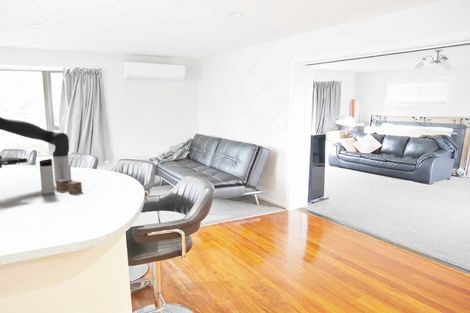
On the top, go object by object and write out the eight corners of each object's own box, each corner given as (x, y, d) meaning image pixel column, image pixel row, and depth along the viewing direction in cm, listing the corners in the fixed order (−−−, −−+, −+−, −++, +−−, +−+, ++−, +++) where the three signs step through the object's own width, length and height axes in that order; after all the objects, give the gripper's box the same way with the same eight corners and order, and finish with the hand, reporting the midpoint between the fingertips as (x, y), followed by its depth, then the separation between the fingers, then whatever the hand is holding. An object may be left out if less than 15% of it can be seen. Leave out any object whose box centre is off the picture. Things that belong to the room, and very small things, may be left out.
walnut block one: (76, 191, 194) (75, 181, 193) (81, 192, 192) (81, 181, 191) (68, 192, 190) (68, 182, 189) (73, 193, 187) (73, 183, 187)
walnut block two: (64, 188, 200) (63, 179, 199) (69, 189, 198) (68, 179, 197) (56, 190, 196) (55, 180, 195) (61, 191, 193) (60, 181, 193)
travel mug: (57, 193, 189) (55, 159, 187) (47, 195, 183) (44, 160, 181) (49, 192, 191) (46, 158, 189) (39, 194, 185) (36, 160, 183)
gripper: (-16, 156, 170) (22, 155, 175) (-6, 153, 182) (29, 152, 188) (-15, 170, 171) (23, 168, 176) (-5, 166, 183) (30, 165, 189)
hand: (26, 160), depth 182 cm, fingers closed
